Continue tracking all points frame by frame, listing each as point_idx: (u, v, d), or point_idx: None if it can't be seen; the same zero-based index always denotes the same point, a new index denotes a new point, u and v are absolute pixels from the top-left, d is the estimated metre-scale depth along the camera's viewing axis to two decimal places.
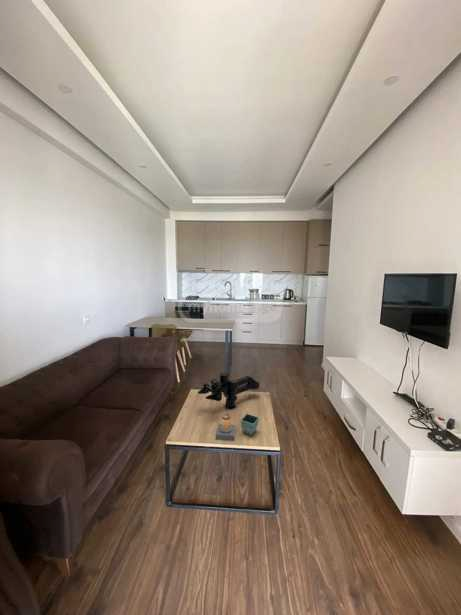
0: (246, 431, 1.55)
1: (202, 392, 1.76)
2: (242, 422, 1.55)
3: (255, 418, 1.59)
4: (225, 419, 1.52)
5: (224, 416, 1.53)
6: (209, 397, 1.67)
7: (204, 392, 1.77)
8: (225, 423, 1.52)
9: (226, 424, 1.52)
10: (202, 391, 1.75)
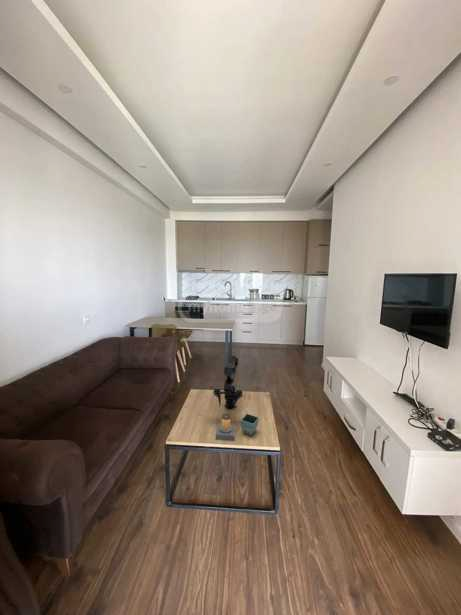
0: (246, 431, 1.55)
1: (220, 400, 1.65)
2: (242, 422, 1.55)
3: (255, 418, 1.59)
4: (225, 419, 1.52)
5: (224, 416, 1.53)
6: (235, 403, 1.63)
7: (220, 398, 1.67)
8: (225, 423, 1.52)
9: (226, 424, 1.52)
10: (220, 400, 1.64)
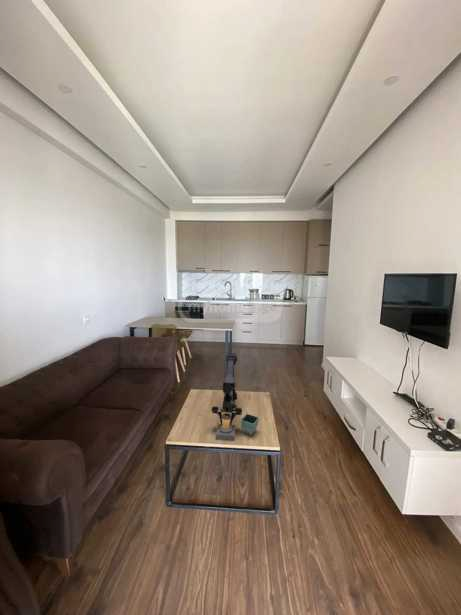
0: (246, 431, 1.55)
1: (221, 419, 1.56)
2: (242, 422, 1.55)
3: (255, 418, 1.59)
4: (225, 419, 1.52)
5: (224, 416, 1.53)
6: (231, 421, 1.54)
7: None
8: (225, 423, 1.52)
9: (226, 424, 1.52)
10: (221, 418, 1.56)
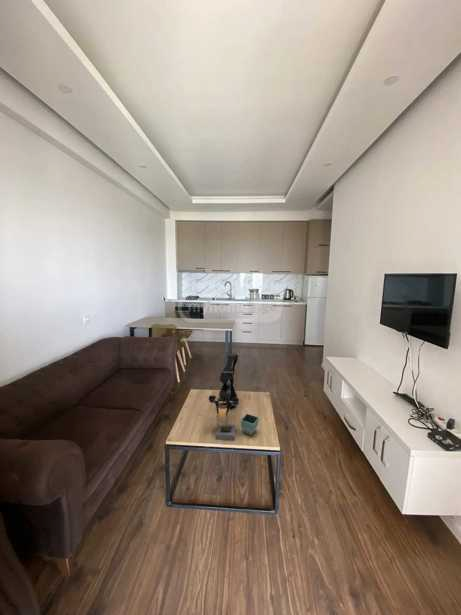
0: (246, 431, 1.55)
1: (218, 408, 1.56)
2: (242, 422, 1.55)
3: (255, 418, 1.59)
4: (221, 408, 1.51)
5: (220, 405, 1.52)
6: (228, 411, 1.53)
7: None
8: (221, 412, 1.51)
9: (222, 413, 1.51)
10: (218, 408, 1.55)
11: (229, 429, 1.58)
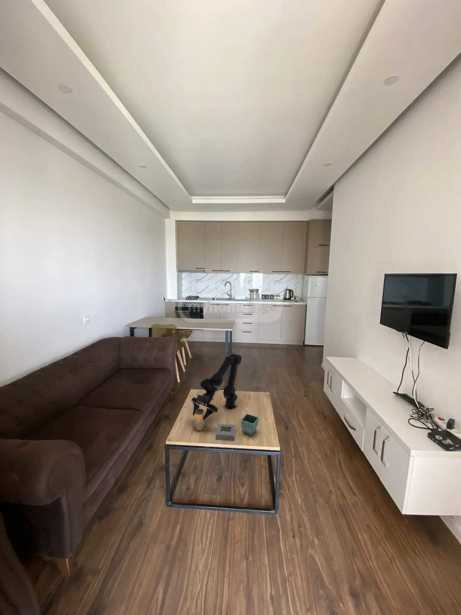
0: (246, 431, 1.55)
1: None
2: (242, 422, 1.55)
3: (255, 418, 1.59)
4: (196, 413, 1.57)
5: (197, 410, 1.59)
6: (205, 416, 1.57)
7: (197, 408, 1.65)
8: (196, 417, 1.58)
9: (197, 418, 1.57)
10: (195, 410, 1.63)
11: (229, 429, 1.58)
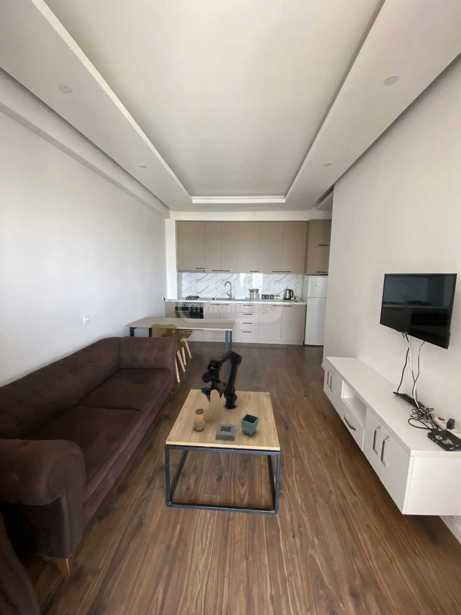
0: (246, 431, 1.55)
1: None
2: (242, 422, 1.55)
3: (255, 418, 1.59)
4: (196, 413, 1.57)
5: (197, 410, 1.59)
6: None
7: None
8: (196, 417, 1.58)
9: (197, 418, 1.57)
10: None
11: (229, 429, 1.58)
